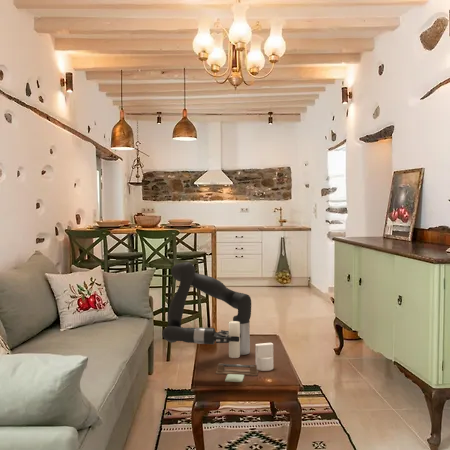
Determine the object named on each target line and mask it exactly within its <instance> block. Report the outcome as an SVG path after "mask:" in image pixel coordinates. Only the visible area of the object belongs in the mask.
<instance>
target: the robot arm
mask: <svg viewBox="0 0 450 450" xmlns="http://www.w3.org/2000/svg"><path fill="white" fill-rule="evenodd" d="M170 273H171V276H172V277H173V278H174V279H175V281H177V282H179V285H178V288H177V290H176V292H175V294H174V296H173V298H171V299H172V300H171V301H170V304H169V307H168V314H167V321H168V324H167V326H166V327H164V328H163V330H162V332H161V333H162V338H163V339H164V340H165V341H166V342H169V343H176V342H183V343H190V344H200V345H215V344H229V342H231V341H235V342H239V337H237V336H229V330H225V329H224V330H222V329H221V330H220V331H218V332H216V329H215V328H214V327H182V319H183V314H184V309H185V305H186V302H187V297H188V294H189V293H190V290H191V287H192V288H195V289H196V290H198V291H200V292H202V293H204V294H206V295H208V296H210V297H212V298H214V299H216V300H220V301H222V302H224V303H226V304H227V305H229V306H230V307H231V308H233V309H236V310H237V314H236V315H234V316H233V317H232V321H238V322H240V356H243V355H246V356H247V355H249V354H250V353H251V352H250V351H251V350H250V349H251V341H250V338H251V337H250V330H251V329H250V320H251V316H252V299H251V296H250V295H249V294H247V293H243V292H240V291H235V290H233V289H230V288H228V287H227V286H226V285H225V284H224V283H223V282H222V281H220V280H218V279H216V278H214V277H212V276H209V275H206V274H202V273H197V272H196V267H195V265H194V264H193V263H191V261H190V262H189V261H185V262H178V263H176V264H174V265H173V266H172V267H171V270H170Z"/></svg>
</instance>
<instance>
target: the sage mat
mask: <svg viewBox="0 0 450 450" xmlns="http://www.w3.org/2000/svg"><path fill="white" fill-rule="evenodd" d="M244 379H245V375H240V374H226V376H225V380H224V382H234V383H243V382H244Z"/></svg>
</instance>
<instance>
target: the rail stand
mask: <svg viewBox="0 0 450 450" xmlns="http://www.w3.org/2000/svg"><path fill="white" fill-rule="evenodd" d="M219 364H225V363H223V362H218V364H216V365H217V367H216V369H217V370H216V372H215V374H217V375H228V374H240V375H244V376H253V377H254V376H255V377H256V376H258V374H259V370H257V365H256V364H253V365H254V366H255V367H254V366H250V368H249V369H234V368H225V367H224V365H219Z"/></svg>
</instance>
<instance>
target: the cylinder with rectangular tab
mask: <svg viewBox="0 0 450 450" xmlns="http://www.w3.org/2000/svg"><path fill="white" fill-rule="evenodd" d="M254 345H255V352H254V353H255V365H257V371H262V372H268V371H273V370H274V343H272V342H264V343H263V342H261V343H255V344H254Z"/></svg>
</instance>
